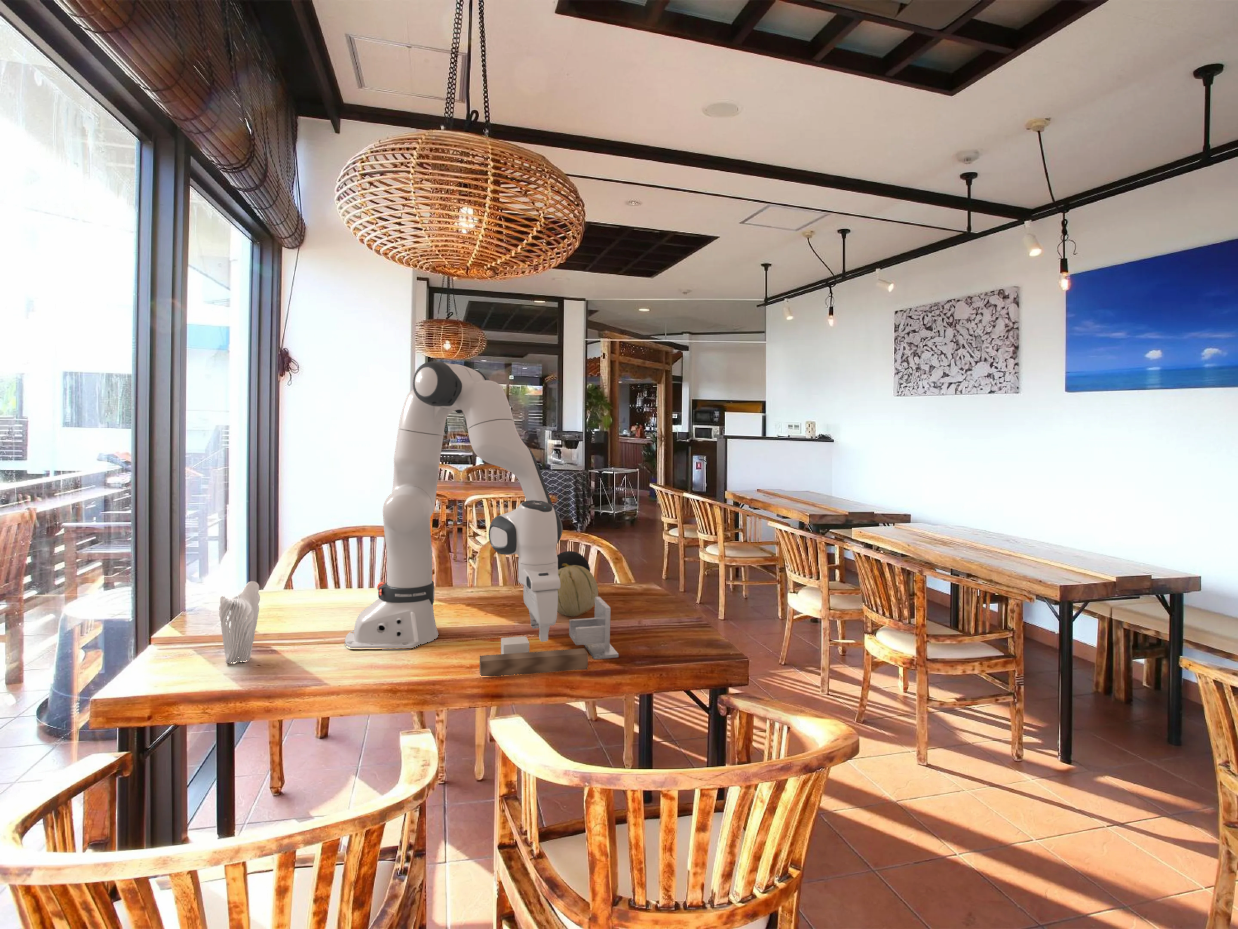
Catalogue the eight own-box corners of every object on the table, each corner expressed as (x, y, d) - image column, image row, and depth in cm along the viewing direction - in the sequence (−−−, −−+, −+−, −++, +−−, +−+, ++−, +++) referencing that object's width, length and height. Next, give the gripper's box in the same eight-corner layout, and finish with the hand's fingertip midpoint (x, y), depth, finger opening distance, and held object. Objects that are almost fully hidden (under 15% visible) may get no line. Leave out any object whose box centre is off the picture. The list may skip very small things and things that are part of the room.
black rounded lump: (557, 606, 205) (558, 557, 204) (541, 595, 217) (542, 549, 216) (596, 601, 211) (597, 553, 210) (579, 591, 223) (580, 546, 222)
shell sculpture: (215, 670, 148) (213, 590, 147) (220, 658, 156) (219, 581, 155) (258, 666, 152) (256, 587, 150) (261, 654, 159) (260, 578, 158)
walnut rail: (480, 679, 148) (480, 661, 148) (479, 673, 151) (479, 655, 151) (587, 670, 154) (587, 653, 154) (584, 665, 158) (584, 648, 158)
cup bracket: (578, 660, 159) (579, 610, 159) (566, 644, 171) (567, 597, 170) (618, 657, 162) (619, 608, 162) (604, 641, 174) (606, 595, 173)
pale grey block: (503, 661, 158) (503, 644, 158) (500, 654, 163) (501, 638, 162) (529, 659, 160) (529, 643, 159) (525, 652, 164) (526, 636, 164)
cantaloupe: (596, 623, 188) (597, 570, 187) (543, 622, 189) (544, 569, 188) (599, 608, 203) (600, 559, 202) (550, 607, 203) (551, 558, 202)
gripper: (516, 564, 160) (517, 622, 162) (532, 585, 141) (533, 650, 142) (542, 562, 162) (543, 619, 163) (562, 583, 143) (563, 646, 144)
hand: (539, 634), depth 153 cm, fingers open, 8 cm apart
